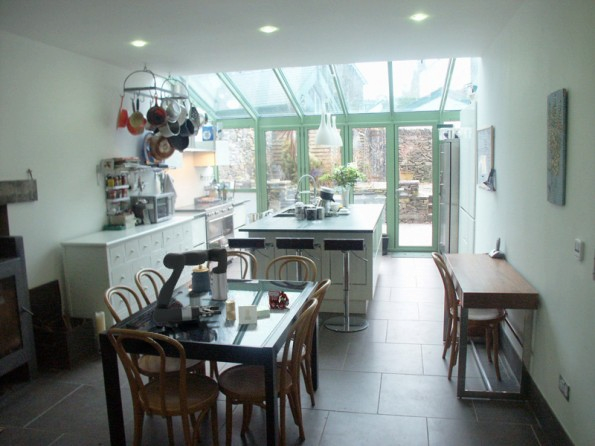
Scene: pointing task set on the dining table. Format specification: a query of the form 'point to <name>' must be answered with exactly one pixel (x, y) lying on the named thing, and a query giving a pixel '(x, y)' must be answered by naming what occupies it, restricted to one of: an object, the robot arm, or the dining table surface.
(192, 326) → the dining table surface
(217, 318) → the dining table surface
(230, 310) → the column
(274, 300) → the toy fire truck
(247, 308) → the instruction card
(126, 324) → the dining table surface
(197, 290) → the canister
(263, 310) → the base brick
